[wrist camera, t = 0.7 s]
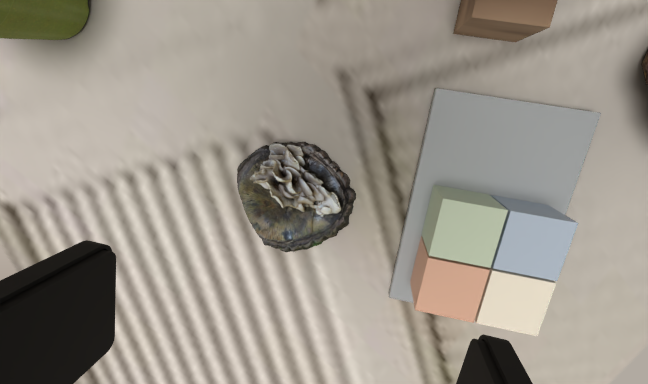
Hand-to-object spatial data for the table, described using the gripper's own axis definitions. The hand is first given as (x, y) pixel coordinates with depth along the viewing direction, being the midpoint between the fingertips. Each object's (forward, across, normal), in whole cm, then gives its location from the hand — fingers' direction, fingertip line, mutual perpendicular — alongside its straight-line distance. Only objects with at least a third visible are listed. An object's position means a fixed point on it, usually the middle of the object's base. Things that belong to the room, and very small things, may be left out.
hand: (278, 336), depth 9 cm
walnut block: (+26, -9, -15) cm, 31 cm away
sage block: (+24, -10, +2) cm, 26 cm away
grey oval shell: (+26, +5, +4) cm, 27 cm away
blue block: (+24, -15, +2) cm, 29 cm away
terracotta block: (+24, -10, +7) cm, 27 cm away
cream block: (+24, -15, +7) cm, 30 cm away
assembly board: (+25, -13, +2) cm, 28 cm away
